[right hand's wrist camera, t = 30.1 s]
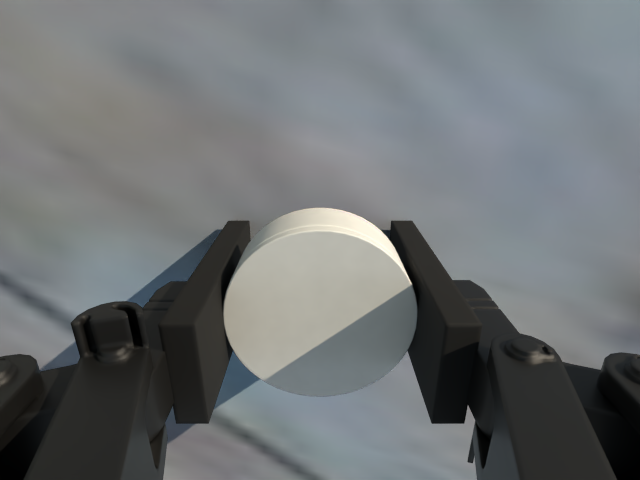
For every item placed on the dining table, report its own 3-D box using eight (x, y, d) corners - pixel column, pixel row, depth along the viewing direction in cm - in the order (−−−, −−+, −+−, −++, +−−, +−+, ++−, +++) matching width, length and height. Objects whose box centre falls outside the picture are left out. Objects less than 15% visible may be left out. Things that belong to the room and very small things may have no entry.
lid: (381, 184, 11) (393, 204, 9) (418, 332, 13) (434, 372, 11) (210, 235, 11) (190, 262, 10) (269, 369, 13) (262, 414, 11)
